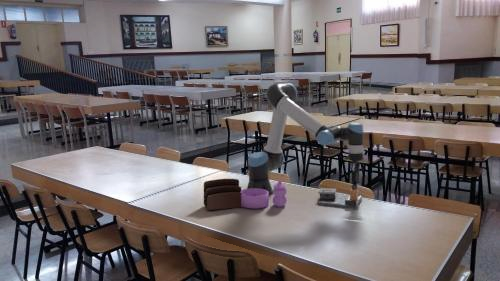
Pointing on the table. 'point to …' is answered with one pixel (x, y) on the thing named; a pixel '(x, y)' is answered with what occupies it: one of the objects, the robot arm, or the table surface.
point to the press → (341, 201)
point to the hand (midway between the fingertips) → (355, 194)
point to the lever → (354, 193)
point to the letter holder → (222, 194)
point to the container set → (263, 196)
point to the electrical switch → (327, 193)
